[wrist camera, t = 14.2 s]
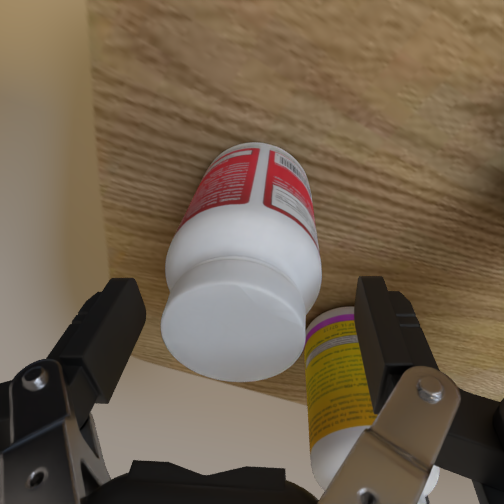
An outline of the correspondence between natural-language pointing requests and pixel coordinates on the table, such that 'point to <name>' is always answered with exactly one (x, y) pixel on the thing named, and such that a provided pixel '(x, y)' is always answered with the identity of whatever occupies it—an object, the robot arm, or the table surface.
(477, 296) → the table surface
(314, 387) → the supplement bottle
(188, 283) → the pill bottle
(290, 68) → the table surface
